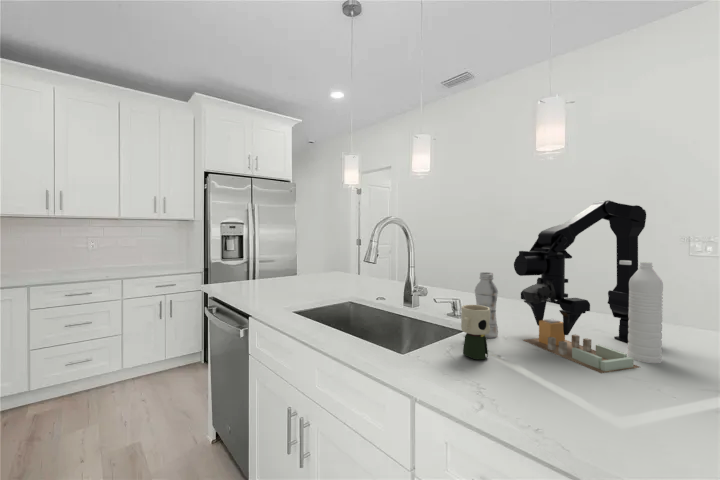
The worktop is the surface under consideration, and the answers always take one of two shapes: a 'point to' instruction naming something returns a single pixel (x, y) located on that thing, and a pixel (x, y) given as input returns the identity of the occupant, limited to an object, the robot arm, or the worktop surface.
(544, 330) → the orange upright block
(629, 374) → the worktop surface
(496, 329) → the plastic bottle
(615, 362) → the bracket
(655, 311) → the water bottle
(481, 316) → the character mug
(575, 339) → the board
